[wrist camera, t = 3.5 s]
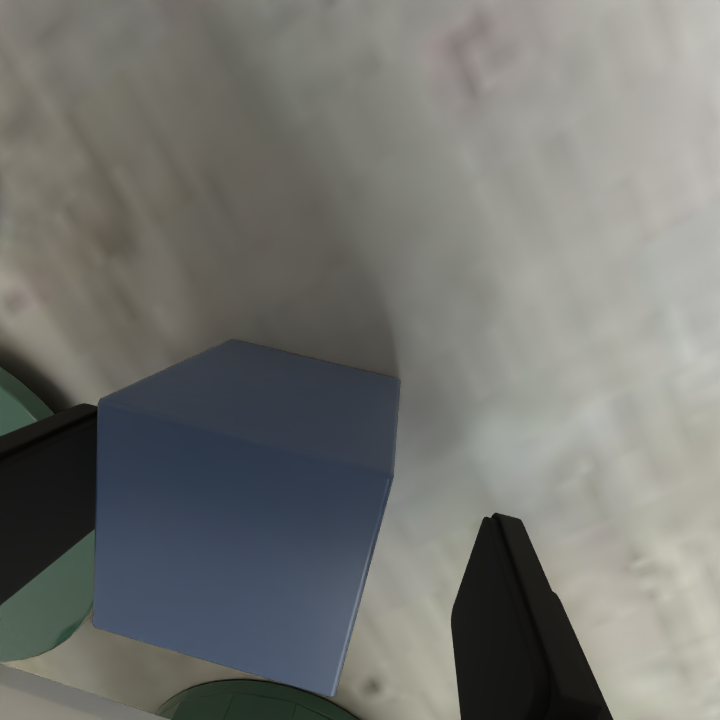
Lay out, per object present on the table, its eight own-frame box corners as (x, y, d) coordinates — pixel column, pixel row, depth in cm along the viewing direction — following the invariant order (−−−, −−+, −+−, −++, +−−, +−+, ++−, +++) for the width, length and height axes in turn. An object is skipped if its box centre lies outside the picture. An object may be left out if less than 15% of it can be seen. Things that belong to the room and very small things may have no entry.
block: (212, 486, 12) (90, 629, 8) (230, 338, 11) (94, 398, 6) (364, 526, 12) (334, 701, 7) (401, 378, 11) (394, 475, 6)
